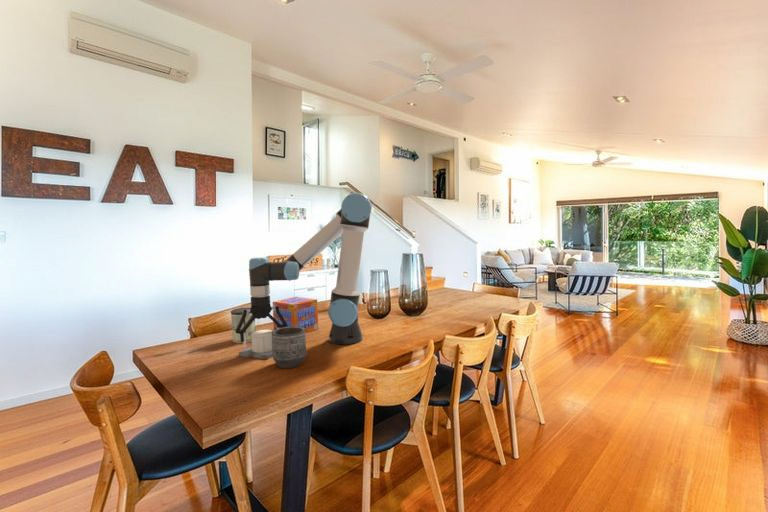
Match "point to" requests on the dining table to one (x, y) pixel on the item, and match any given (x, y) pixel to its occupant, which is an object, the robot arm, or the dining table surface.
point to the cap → (261, 341)
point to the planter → (289, 346)
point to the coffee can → (236, 318)
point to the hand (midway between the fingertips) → (262, 346)
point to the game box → (298, 313)
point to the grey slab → (256, 354)
